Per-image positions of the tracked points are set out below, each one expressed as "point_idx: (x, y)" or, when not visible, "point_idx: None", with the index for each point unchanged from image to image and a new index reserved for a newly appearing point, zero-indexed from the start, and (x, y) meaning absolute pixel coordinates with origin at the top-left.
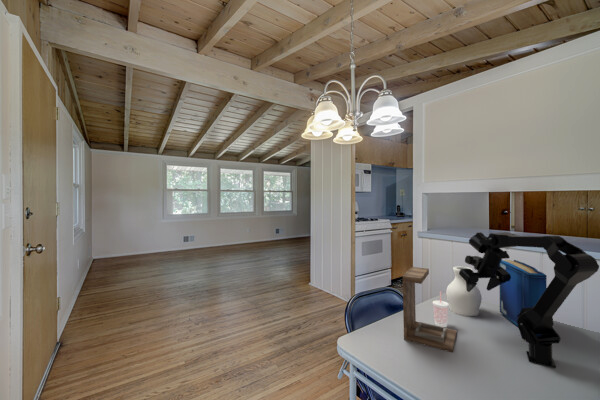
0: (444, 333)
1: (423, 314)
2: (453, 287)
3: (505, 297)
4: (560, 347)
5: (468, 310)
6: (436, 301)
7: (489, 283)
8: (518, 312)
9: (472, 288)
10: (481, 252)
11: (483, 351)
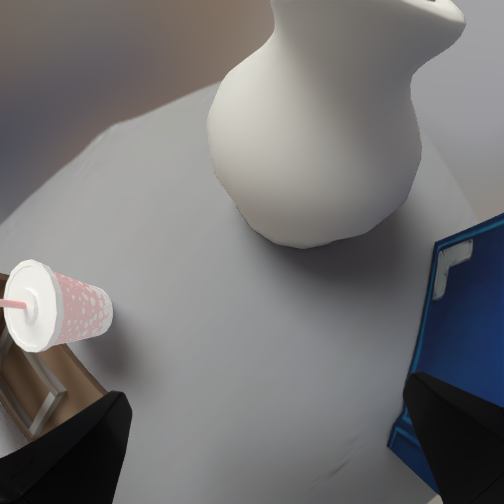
0: (41, 420)
1: (89, 205)
2: (227, 103)
3: (492, 283)
4: (395, 492)
5: (282, 239)
6: (25, 272)
7: (461, 434)
8: None
9: (108, 497)
10: None
11: (133, 496)
